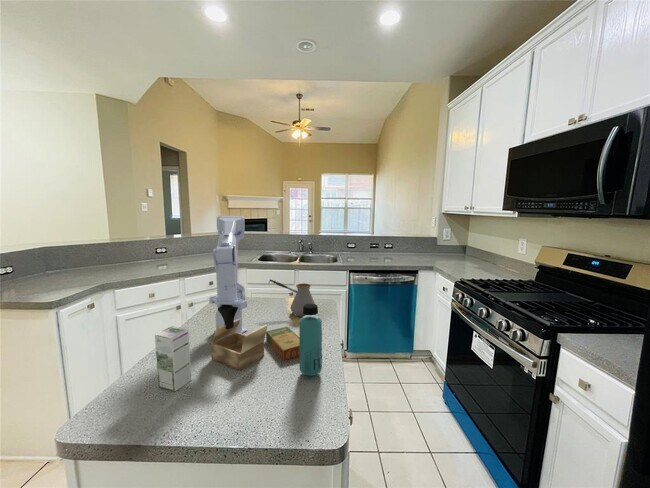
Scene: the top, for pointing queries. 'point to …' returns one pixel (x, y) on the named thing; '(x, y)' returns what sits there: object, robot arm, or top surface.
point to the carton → (284, 343)
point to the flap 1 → (225, 331)
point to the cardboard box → (235, 352)
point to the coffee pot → (299, 297)
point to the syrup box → (173, 358)
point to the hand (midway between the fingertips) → (229, 328)
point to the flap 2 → (254, 338)
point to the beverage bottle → (310, 341)
